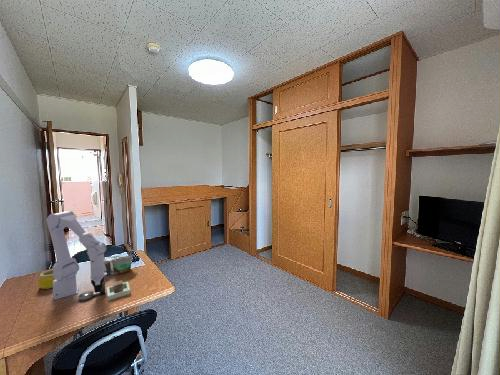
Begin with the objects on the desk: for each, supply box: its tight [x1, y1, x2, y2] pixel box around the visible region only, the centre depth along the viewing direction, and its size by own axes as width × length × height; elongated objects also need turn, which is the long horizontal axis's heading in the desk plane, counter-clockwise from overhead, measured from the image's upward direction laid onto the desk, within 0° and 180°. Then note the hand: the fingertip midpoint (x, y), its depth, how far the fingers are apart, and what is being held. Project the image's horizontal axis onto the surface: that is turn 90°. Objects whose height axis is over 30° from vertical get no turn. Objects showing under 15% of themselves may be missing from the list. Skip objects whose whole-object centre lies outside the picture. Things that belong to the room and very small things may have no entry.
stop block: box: [112, 279, 124, 293], centre depth 115 cm, size 4×4×5 cm
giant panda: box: [104, 257, 117, 277], centre depth 135 cm, size 15×6×10 cm, turn 174°
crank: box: [77, 282, 106, 302], centre depth 112 cm, size 12×6×5 cm, turn 120°
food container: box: [111, 253, 133, 276], centre depth 137 cm, size 12×6×10 cm, turn 143°
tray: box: [106, 281, 131, 301], centre depth 115 cm, size 10×10×2 cm
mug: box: [38, 268, 56, 290], centre depth 123 cm, size 13×11×12 cm
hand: (98, 291), depth 113 cm, fingers closed, pressing on crank
